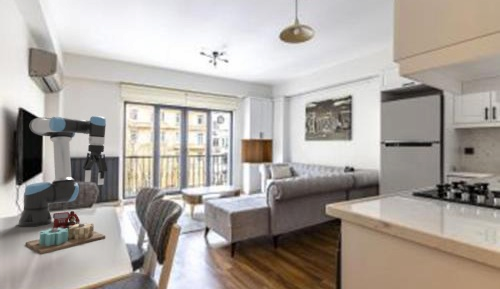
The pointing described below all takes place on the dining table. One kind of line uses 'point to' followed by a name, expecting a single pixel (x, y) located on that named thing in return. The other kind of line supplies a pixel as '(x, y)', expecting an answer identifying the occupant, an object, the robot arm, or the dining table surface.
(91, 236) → the gear board
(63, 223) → the toy fire truck
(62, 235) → the teal gear
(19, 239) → the dining table surface
